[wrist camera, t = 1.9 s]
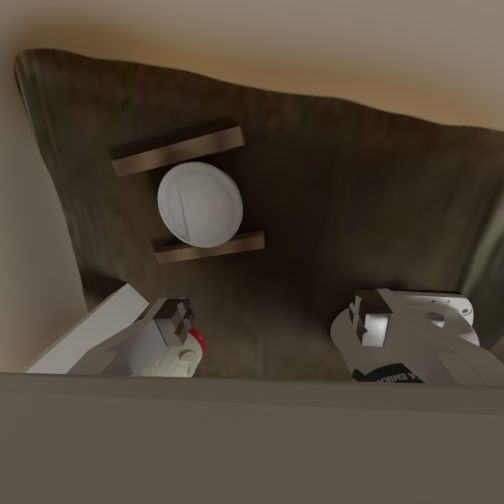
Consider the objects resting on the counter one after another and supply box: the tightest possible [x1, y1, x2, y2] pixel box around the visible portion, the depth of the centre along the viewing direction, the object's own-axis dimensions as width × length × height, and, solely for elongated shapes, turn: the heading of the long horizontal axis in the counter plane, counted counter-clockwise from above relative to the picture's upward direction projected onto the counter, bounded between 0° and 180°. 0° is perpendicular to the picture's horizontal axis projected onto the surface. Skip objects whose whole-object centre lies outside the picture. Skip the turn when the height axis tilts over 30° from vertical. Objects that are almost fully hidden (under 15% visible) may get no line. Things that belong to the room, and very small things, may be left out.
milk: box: [19, 283, 149, 374], centre depth 32 cm, size 6×6×22 cm
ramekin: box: [157, 162, 243, 248], centre depth 28 cm, size 11×11×5 cm
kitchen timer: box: [137, 327, 205, 377], centre depth 39 cm, size 14×14×15 cm
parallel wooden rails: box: [111, 126, 266, 264], centre depth 30 cm, size 18×16×2 cm
